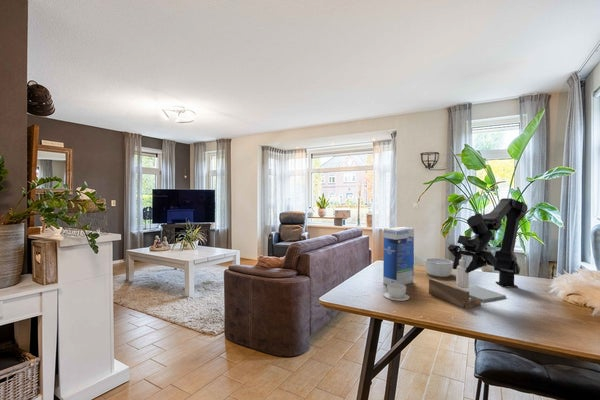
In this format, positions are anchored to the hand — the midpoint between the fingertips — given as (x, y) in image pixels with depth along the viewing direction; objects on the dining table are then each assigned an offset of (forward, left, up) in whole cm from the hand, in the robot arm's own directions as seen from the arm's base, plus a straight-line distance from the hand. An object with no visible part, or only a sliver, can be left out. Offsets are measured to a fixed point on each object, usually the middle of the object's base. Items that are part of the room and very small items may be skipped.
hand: (459, 270), depth 119 cm
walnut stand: (+2, -3, -11) cm, 12 cm away
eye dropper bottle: (-1, +1, -7) cm, 7 cm away
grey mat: (-5, +10, -11) cm, 16 cm away
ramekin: (-36, +2, -11) cm, 38 cm away
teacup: (+3, -25, -11) cm, 27 cm away
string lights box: (-16, -21, -11) cm, 29 cm away
